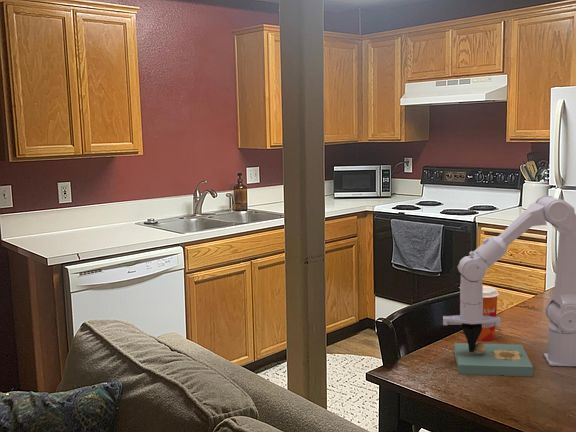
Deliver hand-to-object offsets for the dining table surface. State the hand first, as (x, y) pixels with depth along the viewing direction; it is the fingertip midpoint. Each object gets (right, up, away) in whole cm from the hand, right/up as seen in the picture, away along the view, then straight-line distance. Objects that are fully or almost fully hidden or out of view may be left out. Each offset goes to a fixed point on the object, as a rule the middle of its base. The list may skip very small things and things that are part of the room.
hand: (471, 350), depth 165 cm
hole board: (+5, -3, -1) cm, 6 cm away
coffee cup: (+9, 0, +19) cm, 21 cm away
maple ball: (+2, +1, -1) cm, 2 cm away
